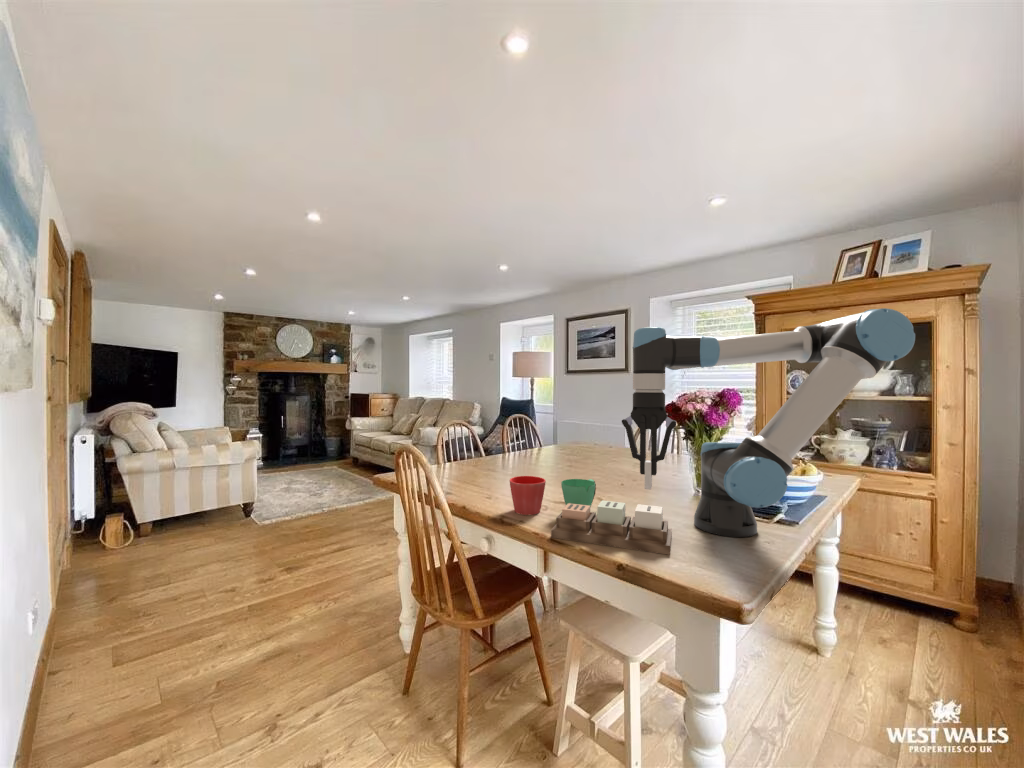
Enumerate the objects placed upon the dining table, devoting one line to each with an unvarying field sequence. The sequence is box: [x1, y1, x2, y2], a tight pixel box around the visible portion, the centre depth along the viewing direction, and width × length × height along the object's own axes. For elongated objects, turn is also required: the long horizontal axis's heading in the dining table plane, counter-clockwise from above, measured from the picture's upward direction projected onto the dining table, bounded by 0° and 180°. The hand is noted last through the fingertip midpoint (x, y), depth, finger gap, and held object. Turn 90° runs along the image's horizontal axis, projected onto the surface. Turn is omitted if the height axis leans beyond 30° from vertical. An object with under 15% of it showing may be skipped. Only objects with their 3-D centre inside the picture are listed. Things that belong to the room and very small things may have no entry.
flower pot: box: [509, 475, 547, 516], centre depth 127 cm, size 11×11×10 cm
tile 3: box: [561, 503, 591, 521], centre depth 109 cm, size 6×6×4 cm
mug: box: [560, 478, 597, 509], centre depth 124 cm, size 15×10×10 cm
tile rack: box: [550, 511, 673, 556], centre depth 106 cm, size 28×12×4 cm, turn 68°
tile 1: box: [634, 503, 664, 530], centre depth 103 cm, size 6×6×4 cm
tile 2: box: [596, 500, 626, 525], centre depth 106 cm, size 6×6×4 cm
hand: (648, 488), depth 103 cm, fingers closed
